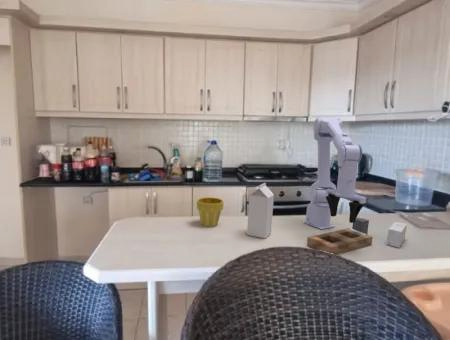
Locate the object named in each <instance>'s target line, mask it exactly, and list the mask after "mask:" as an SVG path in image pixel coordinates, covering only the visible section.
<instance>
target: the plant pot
mask: <svg viewBox="0 0 450 340" xmlns="http://www.w3.org/2000/svg"><path fill="white" fill-rule="evenodd" d="M196 209H197V210H198V214H199V219H200V224H201V225H202V226H203V227H210V228H211V227H215V226H218V225H219V221H220V217H221V212H222V211H223V209H224V199H222V198H219V197H213V196H212V197H210V196H209V197H208V196H206V197H201V198H200V197H199V198H198V199H197V200H196Z"/></svg>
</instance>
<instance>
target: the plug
mask: <svg viewBox="0 0 450 340" xmlns="http://www.w3.org/2000/svg"><path fill="white" fill-rule="evenodd" d="M369 223H370V220H369V219H366V218H365V217H364V216H359V217H357V218H356V220H355V222H354V223H352V227H351V229H354V230H356V231H359V232H362V233H365V234H367V235H368V231H369V225H370V224H369Z"/></svg>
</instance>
